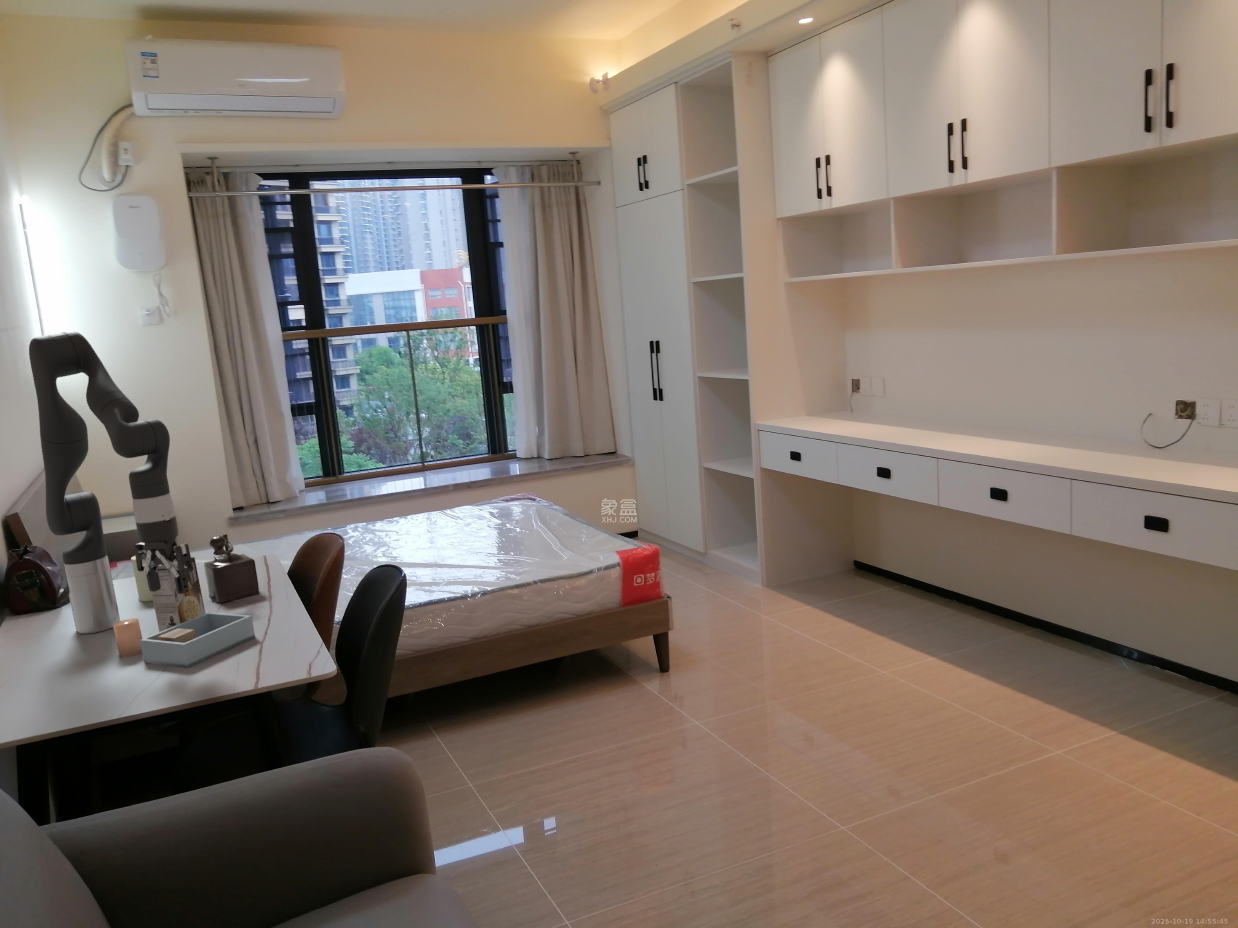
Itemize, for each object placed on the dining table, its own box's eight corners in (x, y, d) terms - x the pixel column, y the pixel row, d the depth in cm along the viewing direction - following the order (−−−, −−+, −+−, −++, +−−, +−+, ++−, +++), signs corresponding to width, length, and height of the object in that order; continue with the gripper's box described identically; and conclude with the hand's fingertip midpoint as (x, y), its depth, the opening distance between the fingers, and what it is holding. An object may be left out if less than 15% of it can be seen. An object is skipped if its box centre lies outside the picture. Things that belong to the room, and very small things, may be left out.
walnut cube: (162, 658, 196) (158, 636, 195) (182, 650, 201) (178, 628, 200) (178, 660, 194) (174, 638, 193) (198, 651, 198) (194, 629, 197)
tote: (144, 662, 197) (139, 639, 196) (212, 633, 212) (208, 612, 212) (188, 667, 191) (183, 644, 190) (255, 637, 206) (251, 615, 206)
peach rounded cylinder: (114, 656, 203) (108, 625, 202) (134, 647, 208) (128, 617, 207) (129, 657, 201) (123, 627, 200) (149, 649, 206) (143, 619, 204)
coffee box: (184, 621, 224) (172, 557, 221) (207, 621, 222) (196, 556, 220) (158, 635, 215) (145, 568, 212) (182, 634, 213) (170, 567, 211)
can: (165, 599, 246) (157, 555, 244) (131, 602, 246) (123, 559, 244) (182, 589, 255) (174, 546, 253) (149, 592, 255) (141, 550, 253)
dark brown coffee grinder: (206, 597, 244) (193, 531, 241) (249, 586, 250) (237, 521, 247) (222, 608, 231) (210, 539, 228) (267, 597, 238) (255, 529, 235)
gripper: (116, 520, 192) (130, 595, 195) (162, 522, 186) (177, 599, 189) (148, 511, 199) (161, 584, 202) (194, 513, 192) (207, 587, 195)
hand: (169, 591), depth 195 cm, fingers open, 8 cm apart
